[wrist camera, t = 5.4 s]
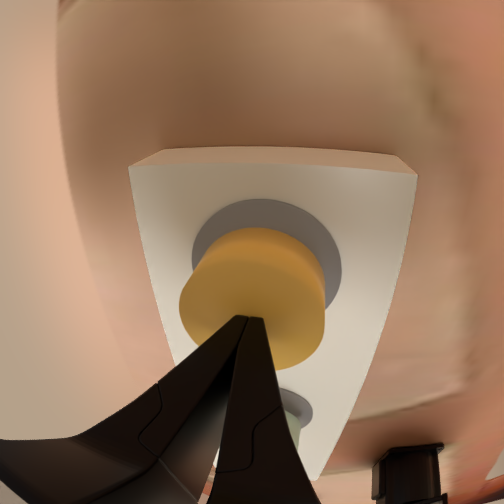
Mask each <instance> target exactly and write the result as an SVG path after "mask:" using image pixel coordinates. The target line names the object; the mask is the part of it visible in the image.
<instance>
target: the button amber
mask: <svg viewBox="0 0 504 504" xmlns="http://www.w3.org/2000/svg"><path fill="white" fill-rule="evenodd" d="M179 314H180V318H181V321H182V324H183V326H184V328H185V330H186V332H187V333H188V335H189V336H190V337H191V339H192V340H193V341H194V342H195V343H196V344H197V345H198V346H200V345H201V344H202V343H204V342H205V341H206V340H207V339H208V338H209V337H210V336H212V335H213V334H214V333H215V332H216V331H217V330H218V329H220V328H221V327H222V326H223V325H224V324H225V323H226V322H228V321H229V320H230V319H231V318H232V317H233V316H235V315H244V316H248V317H251V316H253V317H262V318H263V319H264V323H265V327H266V331H267V336H268V340H269V345H270V349H271V353H272V358H273V362H274V366H275V371H277V370H283V369H286V368H290V367H293V366H295V365H297V364H299V363H301V362H303V361H305V360H306V359H307V358H309V357H310V356H311V355H312V354H313V353H314V352H315V351H316V349H317V348H318V347H319V345H320V343H321V341H322V339H323V335H324V329H325V278H324V274H323V270H322V268H321V266H320V263H319V262H318V260H317V259H316V257H315V256H314V254H313V253H312V252H311V251H310V250H309V249H308V248H307V247H306V246H305V245H304V244H303V243H301V242H300V241H298V240H297V239H295V238H293V237H291V236H290V235H288V234H285V233H282V232H280V231H277V230H272V229H268V228H243V229H239V230H235V231H232V232H229V233H227V234H225V235H223V236H222V237H220V238H218V239H217V240H216V241H215V242H214V243H213V244H212V245H211V246H210V247H209V248H208V249H207V251H206V253H205V254H204V256H203V257H202V259H201V260H200V262H199V264H198V265H197V267H196V268H195V270H194V272H193V273H192V275H191V276H190V278H189V279H188V281H187V283H186V284H185V286H184V288H183V289H182V292H181V294H180V299H179Z"/></svg>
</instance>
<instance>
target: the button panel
mask: <svg viewBox="0 0 504 504" xmlns="http://www.w3.org/2000/svg"><path fill="white" fill-rule="evenodd" d="M128 171H129V178H130V184H131V190H132V195H133V201H134V206H135V212H136V217H137V222H138V227H139V232H140V236H141V241H142V246H143V250H144V255H145V259H146V263H147V267H148V271H149V276H150V280H151V284H152V287H153V291H154V295H155V299H156V303H157V306H158V310H159V313H160V317H161V320H162V324H163V327H164V331H165V334H166V337H167V341H168V344H169V347H170V350H171V353H172V356H173V359H174V363H175V366H177V365H178V364H179V363H180V362H181V361H183V360H184V359H185V358H186V357H187V356H188V355H190V354H191V353H192V352H193V351H194V350H195V349H197V348H198V347H199V346H198V345H197V344H196V343H195V342H194V341H193V340H192V339H191V337H190V336H189V335H188V333H187V332H186V330H185V328H184V326H183V324H182V321H181V318H180V314H179V299H180V294H181V292H182V289H183V288H184V286H185V284H186V283H187V281H188V279H189V278H190V276H191V275H192V273H193V272H194V270H195V268H196V267H197V265H198V264H199V262H200V260H201V259H202V257H203V256H204V254H205V253H206V251H207V249H208V248H209V247H210V246H211V245H212V244H213V243H214V242H215V241H216V240H217V239H218V238H220V237H222V236H223V235H225V234H227V233H229V232H232V231H235V230H239V229H243V228H268V229H272V230H277V231H280V232H282V233H285V234H288V235H290V236H291V237H293V238H295V239H297V240H298V241H300V242H301V243H303V244H304V245H305V246H306V247H307V248H308V249H309V250H310V251H311V252H312V253H313V254H314V256H315V257H316V259H317V260H318V262H319V263H320V266H321V268H322V270H323V274H324V278H325V329H324V335H323V339H322V341H321V343H320V345H319V347H318V348H317V349H316V351H315V352H314V353H313V354H312V355H311V356H310V357H309V358H307V359H306V360H305V361H303V362H301V363H299V364H297V365H295V366H293V367H290V368H286V369H283V370H277V371H276V375H277V380H278V384H279V388H280V393H281V397H282V401H283V406H284V410H285V411H287V412H289V413H291V414H292V415H294V416H295V417H296V418H298V420H299V421H300V423H301V431H300V438H299V446H298V454H299V456H300V459H301V461H302V463H303V466H304V468H305V471H306V473H307V475H308V477H309V480H315V481H317V479H318V477H319V475H320V473H321V472H322V470H323V468H324V466H325V464H326V462H327V461H328V459H329V457H330V455H331V453H332V451H333V449H334V447H335V445H336V443H337V441H338V439H339V437H340V435H341V433H342V431H343V429H344V426H345V424H346V422H347V420H348V418H349V416H350V413H351V411H352V409H353V407H354V404H355V402H356V400H357V397H358V395H359V393H360V390H361V388H362V385H363V383H364V380H365V378H366V375H367V373H368V370H369V367H370V365H371V362H372V359H373V356H374V354H375V351H376V348H377V345H378V342H379V339H380V336H381V333H382V330H383V327H384V324H385V321H386V318H387V315H388V311H389V308H390V305H391V301H392V298H393V294H394V291H395V287H396V283H397V279H398V276H399V272H400V268H401V264H402V259H403V255H404V251H405V246H406V242H407V237H408V232H409V227H410V222H411V217H412V211H413V206H414V200H415V194H416V187H417V180H418V175H417V174H416V173H415V172H414V171H413V170H412V169H411V168H410V167H409V166H408V165H406V164H405V163H404V162H403V161H402V160H401V159H400V158H398V157H397V156H396V155H388V154H380V153H370V152H360V151H349V150H336V149H321V148H303V147H271V146H226V147H194V148H175V149H163V150H161V151H159V152H157V153H155V154H152V155H150V156H148V157H146V158H144V159H142V160H140V161H138V162H136V163H134V164H132V165H130V166H128ZM218 454H219V449H218V452H217V454H216V457H215V460H214V462H213V464H214V466H215V467H216V465H217V460H218Z"/></svg>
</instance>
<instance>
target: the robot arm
mask: <svg viewBox="0 0 504 504" xmlns="http://www.w3.org/2000/svg"><path fill="white" fill-rule="evenodd" d="M219 446H220V449H219ZM218 449H219V454H218V460H217V465H216V471H215V473H216V474H215V477H214V482H213V486H212V490H211V493H210V496H209V498H208V501H207V503H206V504H321V502H320V501H319V499H318V497H317V495H316V493H315V491H314V489H313V487H312V484H311V482H310V480H309V477H308V475H307V473H306V471H305V468H304V466H303V463H302V461H301V459H300V456H299V454H298V452H297V449H296V446H295V444H294V441H293V438H292V436H291V433H290V429H289V426H288V422H287V418H286V414H285V410H284V406H283V401H282V397H281V393H280V388H279V384H278V380H277V375H276V371H275V366H274V362H273V358H272V353H271V349H270V345H269V340H268V336H267V331H266V327H265V323H264V319H263V318H262V317H253V316H251V317H248V316H244V315H235V316H233V317H232V318H231V319H230V320H229V321H228V322H226V323H225V324H224V325H223V326H222V327H221V328H220V329H218V330H217V331H216V332H215V333H214V334H213V335H212V336H210V337H209V338H208V339H207V340H206V341H205V342H204V343H202V344H201V345H200V346H199V347H198V348H197V349H195V350H194V351H193V352H192V353H191V354H190V355H188V356H187V357H186V358H185V359H184V360H183V361H181V362H180V363H179V364H178V365H177V366H176V367H174V368H173V369H172V370H171V371H170V372H168V373H167V374H166V375H165V376H164V377H163V378H161V379H160V380H159V381H158V383H155V384H154V385H153V386H152V387H150V388H149V389H148V390H147V391H145V392H144V393H143V394H142V395H140V396H139V397H138V398H136V399H135V400H134V401H132V402H131V403H129V404H128V405H126V406H125V407H123V408H122V409H121V410H119V411H117V412H116V413H114V414H113V415H111V416H110V417H108V418H106V419H105V420H103V421H101V422H100V423H98V424H96V425H95V426H93V427H92V428H90V429H88V430H87V431H85V432H83V433H80V434H78V435H75V436H72V437H68V438H59V439H43V440H3V439H0V504H198V503H197V502H198V501H199V499H200V496H201V494H202V491H203V488H204V486H205V483H206V481H207V478H208V476H209V473H210V470H211V468H212V465H213V462H214V460H215V457H216V454H217V452H218ZM443 449H444V444H438V445H430V446H421V447H410V448H397V449H390V450H388V451H387V453H386V454H385V455H384V456H383V457H382V458H381V459H380V461H379V462H378V463H377V464H376V465H375V466H374V467H373V468H372V497H371V499H372V500H376V504H448V494H447V493H444V494H442V495H441V485H440V472H439V461H438V454H439V453H440V452H441V451H442V450H443Z"/></svg>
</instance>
